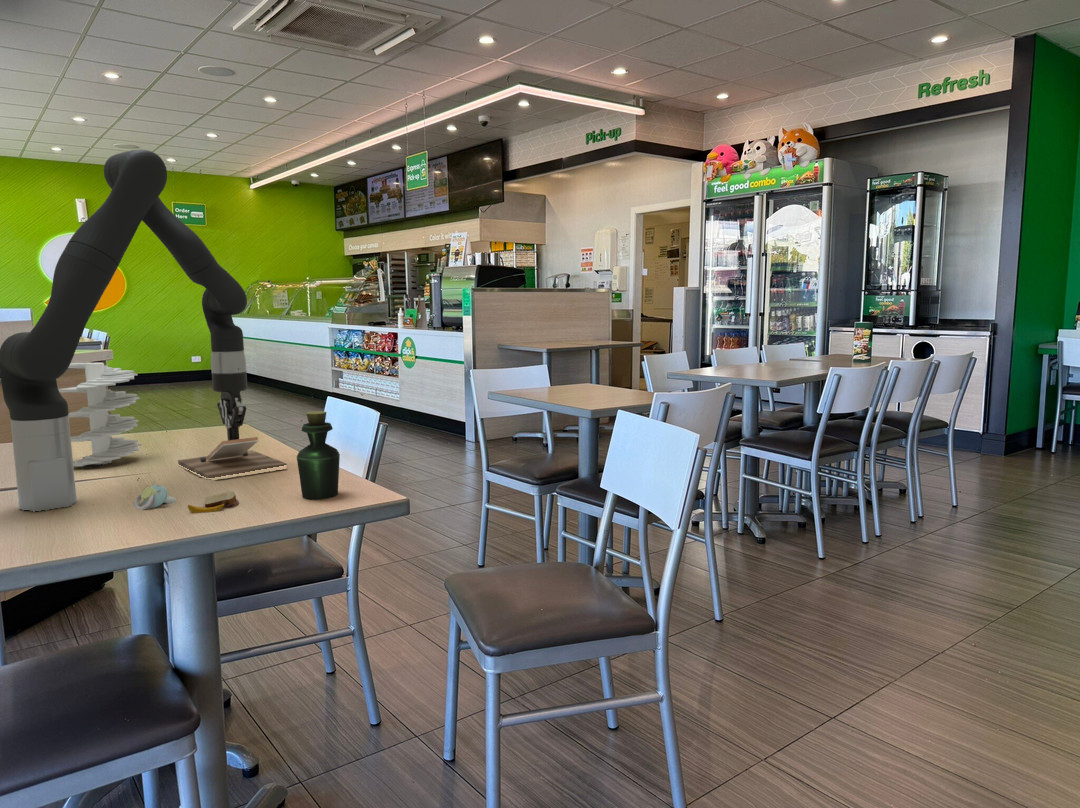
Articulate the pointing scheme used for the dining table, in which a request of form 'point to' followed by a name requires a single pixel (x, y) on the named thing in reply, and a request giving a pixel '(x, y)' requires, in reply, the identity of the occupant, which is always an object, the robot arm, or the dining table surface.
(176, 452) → the dining table surface
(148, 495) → the pacifier
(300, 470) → the potion bottle
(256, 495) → the dining table surface
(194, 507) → the toy sandwich meal
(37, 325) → the robot arm
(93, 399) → the spiral staircase
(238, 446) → the flip tile
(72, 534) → the dining table surface
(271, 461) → the board
